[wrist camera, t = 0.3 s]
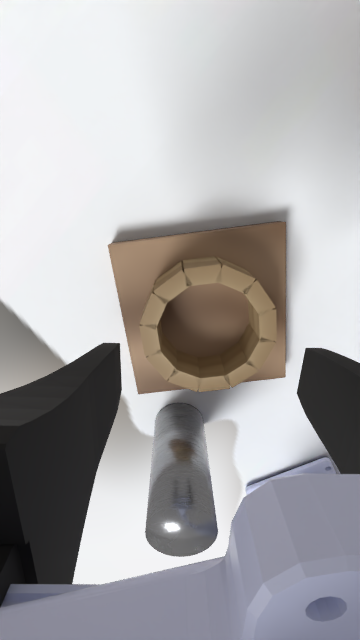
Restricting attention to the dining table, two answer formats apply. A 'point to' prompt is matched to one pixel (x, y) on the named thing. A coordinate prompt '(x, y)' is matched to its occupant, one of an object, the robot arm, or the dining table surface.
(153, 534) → the steel pin
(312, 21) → the dining table surface
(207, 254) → the socket block
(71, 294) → the dining table surface
